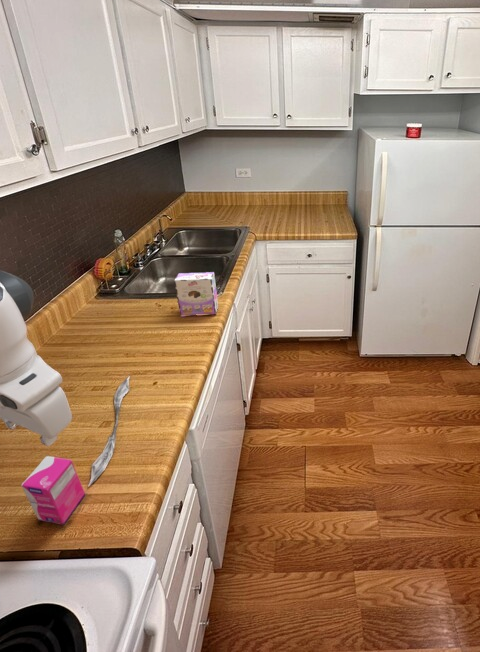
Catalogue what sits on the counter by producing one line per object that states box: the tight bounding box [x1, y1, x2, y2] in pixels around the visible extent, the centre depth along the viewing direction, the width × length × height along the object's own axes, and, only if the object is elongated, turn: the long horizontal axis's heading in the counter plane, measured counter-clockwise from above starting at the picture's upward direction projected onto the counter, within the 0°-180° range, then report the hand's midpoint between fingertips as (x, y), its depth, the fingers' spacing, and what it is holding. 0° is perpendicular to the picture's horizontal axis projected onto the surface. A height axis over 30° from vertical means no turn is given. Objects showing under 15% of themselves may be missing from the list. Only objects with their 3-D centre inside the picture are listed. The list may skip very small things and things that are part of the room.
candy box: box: [173, 271, 219, 318], centre depth 128 cm, size 14×6×16 cm, turn 94°
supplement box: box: [20, 455, 86, 526], centre depth 66 cm, size 6×6×12 cm
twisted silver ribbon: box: [87, 375, 131, 488], centre depth 86 cm, size 32×1×5 cm
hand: (32, 433), depth 60 cm, fingers open, 8 cm apart
